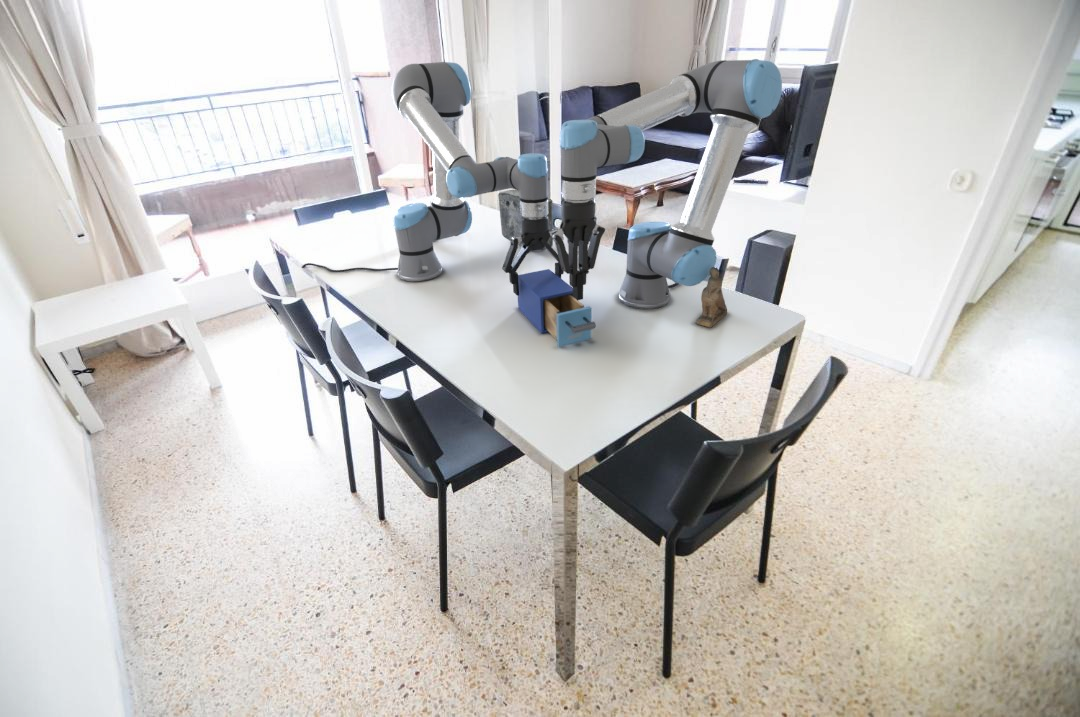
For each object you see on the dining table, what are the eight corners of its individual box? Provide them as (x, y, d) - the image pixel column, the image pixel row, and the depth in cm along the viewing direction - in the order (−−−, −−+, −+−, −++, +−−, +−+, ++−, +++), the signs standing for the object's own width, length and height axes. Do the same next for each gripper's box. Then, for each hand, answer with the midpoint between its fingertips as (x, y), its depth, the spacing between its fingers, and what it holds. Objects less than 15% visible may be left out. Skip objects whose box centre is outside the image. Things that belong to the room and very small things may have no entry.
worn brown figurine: (709, 335, 136) (713, 280, 124) (691, 329, 139) (693, 274, 128) (730, 313, 142) (736, 258, 130) (712, 307, 145) (716, 253, 133)
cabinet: (575, 325, 139) (575, 290, 133) (541, 333, 135) (540, 297, 130) (549, 302, 153) (549, 268, 147) (518, 308, 149) (516, 275, 144)
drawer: (601, 348, 126) (602, 316, 121) (568, 356, 123) (568, 324, 118) (563, 314, 143) (563, 285, 138) (534, 320, 140) (532, 291, 135)
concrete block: (558, 253, 189) (557, 199, 178) (539, 258, 184) (537, 204, 174) (519, 237, 207) (516, 187, 197) (501, 241, 203) (497, 191, 193)
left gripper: (495, 226, 127) (502, 302, 138) (582, 212, 135) (581, 285, 146) (486, 219, 133) (493, 292, 144) (569, 206, 141) (569, 277, 152)
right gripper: (558, 206, 103) (560, 309, 116) (613, 198, 107) (608, 298, 120) (544, 199, 109) (547, 297, 121) (596, 191, 113) (593, 287, 126)
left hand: (537, 289), depth 145 cm, fingers open, 13 cm apart
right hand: (577, 297), depth 121 cm, fingers closed
